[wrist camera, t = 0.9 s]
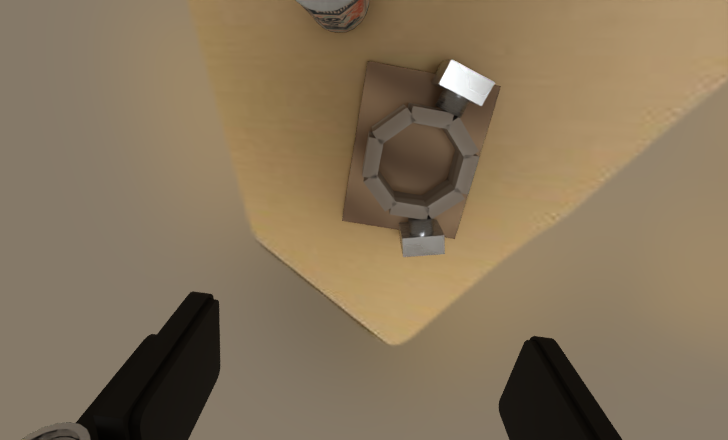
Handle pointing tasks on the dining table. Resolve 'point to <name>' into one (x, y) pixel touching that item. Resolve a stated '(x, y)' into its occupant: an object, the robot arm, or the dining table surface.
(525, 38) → the dining table surface
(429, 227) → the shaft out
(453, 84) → the shaft in
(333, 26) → the beer can
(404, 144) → the octagonal gimbal ring stand
